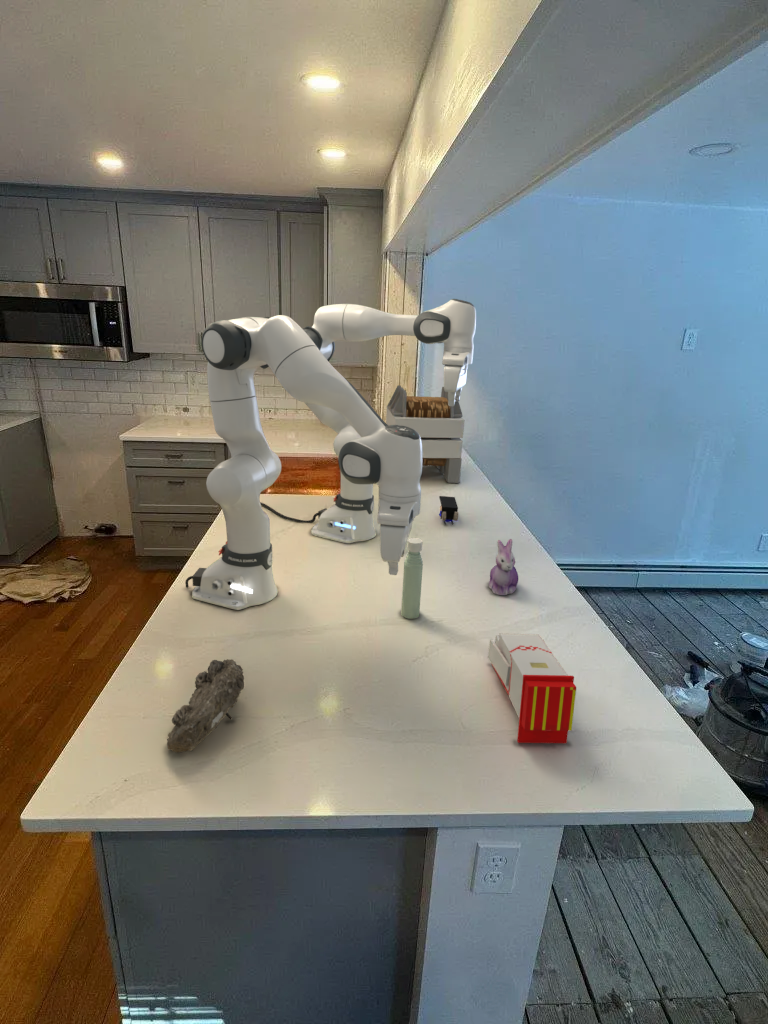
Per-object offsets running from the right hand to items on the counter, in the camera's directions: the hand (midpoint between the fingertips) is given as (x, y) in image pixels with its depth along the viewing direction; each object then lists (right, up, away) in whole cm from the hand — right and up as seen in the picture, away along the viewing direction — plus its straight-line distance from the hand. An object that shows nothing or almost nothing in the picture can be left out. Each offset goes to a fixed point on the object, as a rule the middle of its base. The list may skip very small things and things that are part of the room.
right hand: (454, 403), depth 174 cm
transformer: (-4, -15, +101) cm, 102 cm away
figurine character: (+3, -37, +41) cm, 55 cm away
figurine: (+13, -56, -11) cm, 58 cm away
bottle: (-15, -60, -27) cm, 67 cm away
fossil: (-54, -72, -66) cm, 112 cm away
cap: (-14, -41, -34) cm, 55 cm away
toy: (+7, -72, -57) cm, 92 cm away
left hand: (-19, -45, -51) cm, 70 cm away
